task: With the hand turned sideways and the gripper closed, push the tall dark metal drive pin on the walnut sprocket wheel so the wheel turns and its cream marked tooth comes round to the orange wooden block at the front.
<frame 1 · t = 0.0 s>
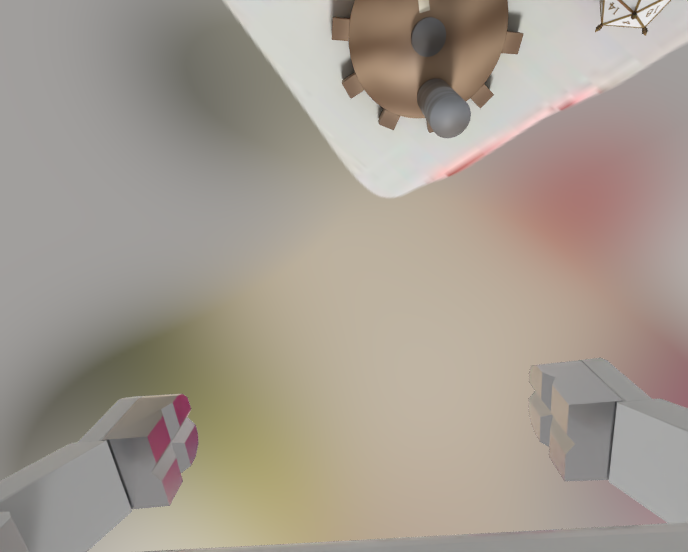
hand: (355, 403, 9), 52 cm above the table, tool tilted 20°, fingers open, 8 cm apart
sprocket: (433, 40, 45), point 6 cm above the table, hinge at 0.0°
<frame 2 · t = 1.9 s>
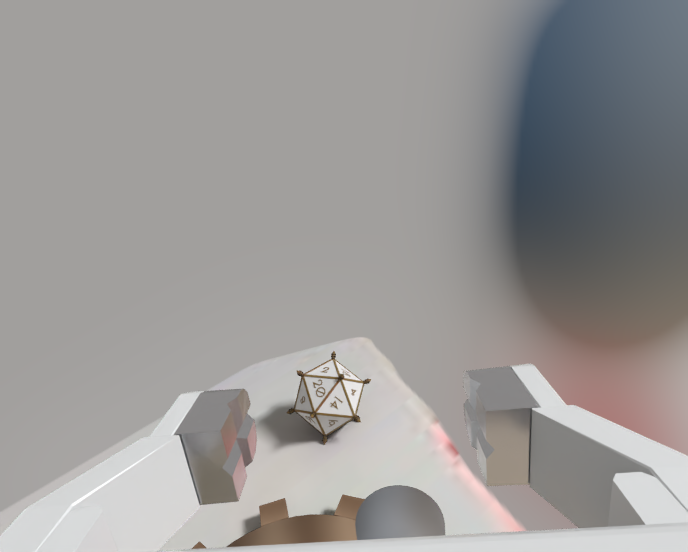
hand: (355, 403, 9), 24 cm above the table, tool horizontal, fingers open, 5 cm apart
game die: (334, 427, 45), on the table
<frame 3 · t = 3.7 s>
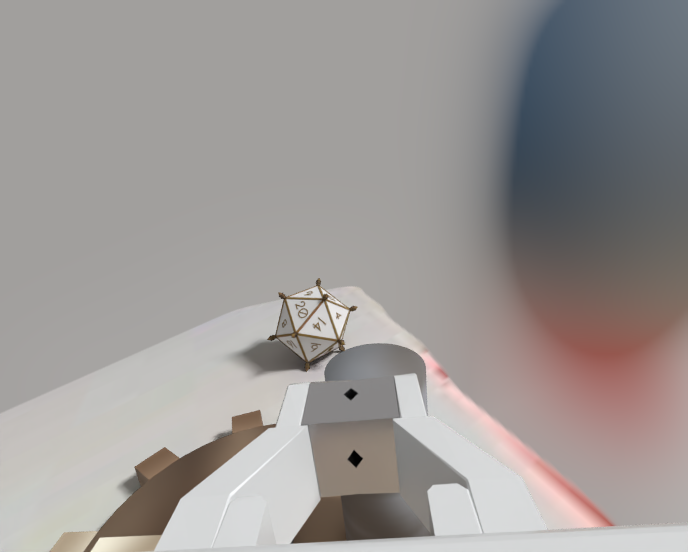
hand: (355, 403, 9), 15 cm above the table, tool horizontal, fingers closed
game die: (317, 358, 43), on the table
sprocket: (242, 480, 20), point 6 cm above the table, hinge at 0.0°
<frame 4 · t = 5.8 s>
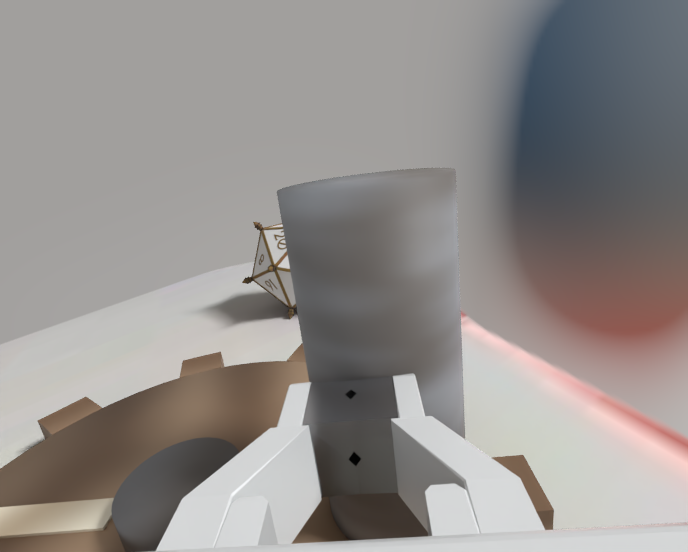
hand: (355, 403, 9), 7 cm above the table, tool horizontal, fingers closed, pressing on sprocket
game die: (305, 307, 35), on the table
sprocket: (155, 402, 12), point 6 cm above the table, hinge at 0.8°, touching gripper
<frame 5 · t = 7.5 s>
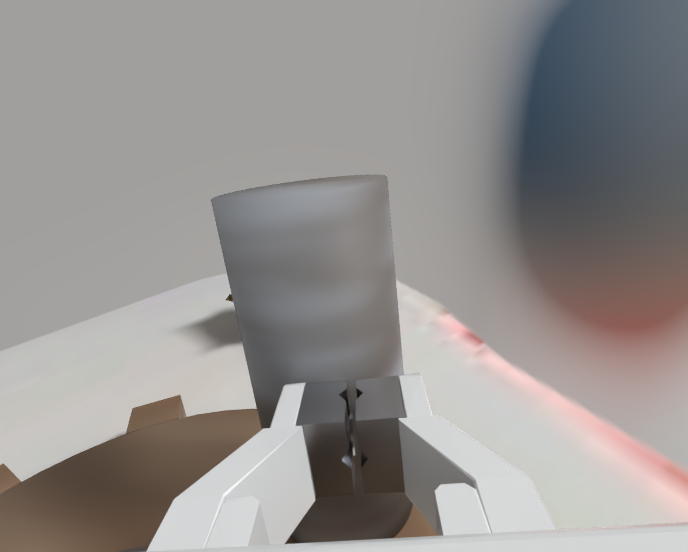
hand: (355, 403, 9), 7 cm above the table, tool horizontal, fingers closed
sprocket: (49, 532, 8), point 6 cm above the table, hinge at 39.6°, touching gripper
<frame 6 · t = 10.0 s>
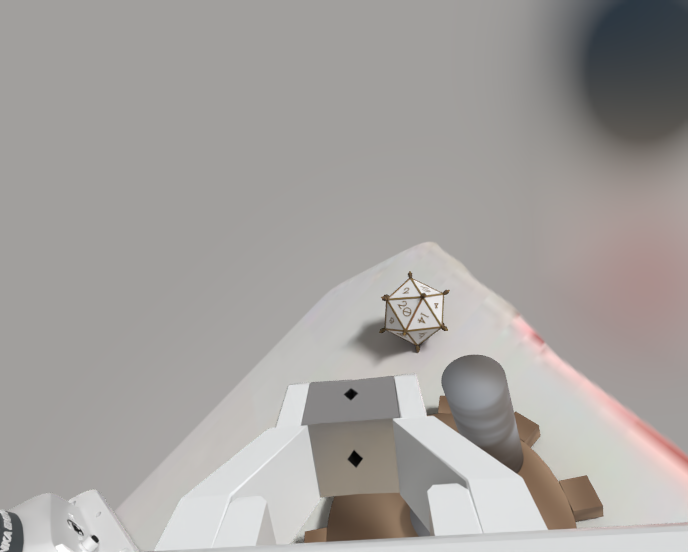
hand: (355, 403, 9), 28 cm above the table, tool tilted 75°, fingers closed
game die: (422, 335, 51), on the table
sprocket: (425, 493, 29), point 6 cm above the table, hinge at 39.6°
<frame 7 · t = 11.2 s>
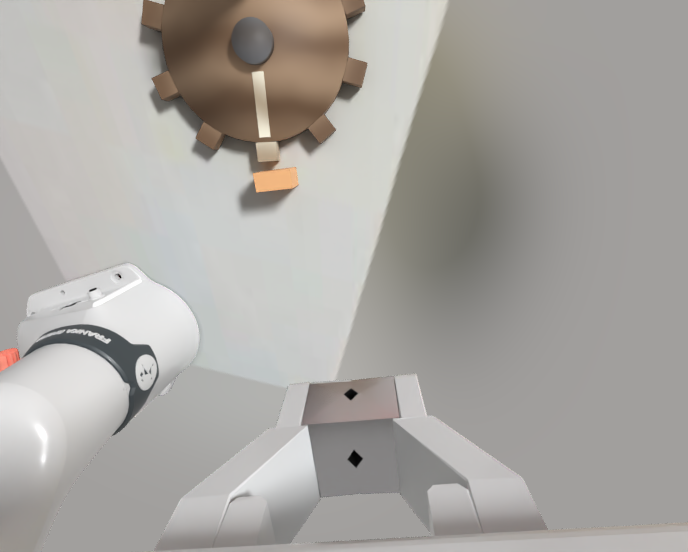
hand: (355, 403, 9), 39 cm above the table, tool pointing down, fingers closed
orange wooden block: (280, 178, 46), on the table
sprocket: (242, 31, 36), point 6 cm above the table, hinge at 39.6°
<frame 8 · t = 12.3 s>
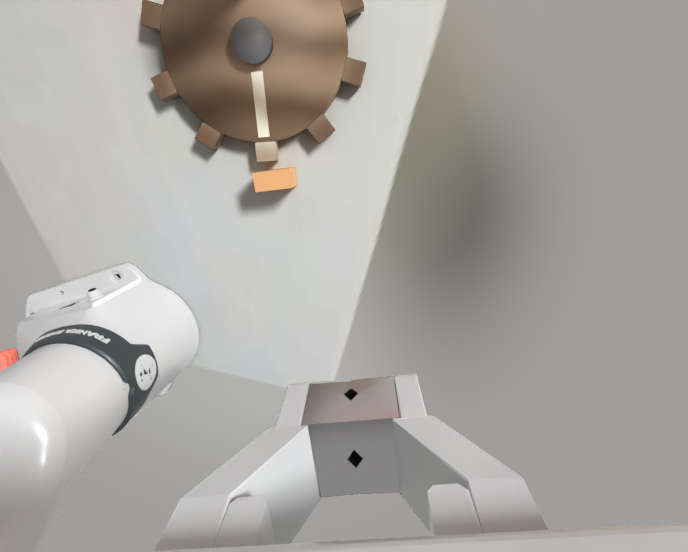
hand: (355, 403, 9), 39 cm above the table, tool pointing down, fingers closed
orange wooden block: (279, 177, 46), on the table
sprocket: (241, 31, 36), point 6 cm above the table, hinge at 39.6°
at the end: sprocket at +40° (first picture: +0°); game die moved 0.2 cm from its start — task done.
